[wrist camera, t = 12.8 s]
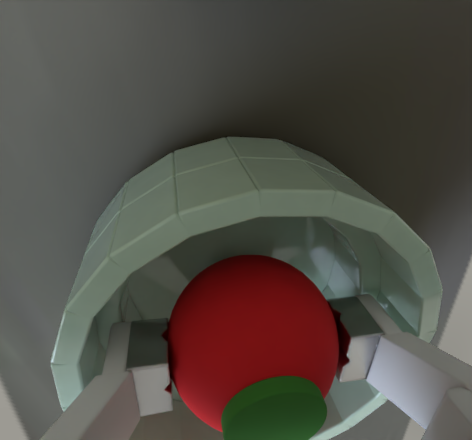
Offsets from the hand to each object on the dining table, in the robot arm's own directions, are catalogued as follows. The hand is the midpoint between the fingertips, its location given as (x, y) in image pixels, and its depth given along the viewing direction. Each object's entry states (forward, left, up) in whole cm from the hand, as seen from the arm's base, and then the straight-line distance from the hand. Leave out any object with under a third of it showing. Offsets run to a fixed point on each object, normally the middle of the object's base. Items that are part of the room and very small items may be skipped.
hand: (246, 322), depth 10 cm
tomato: (0, 0, -2) cm, 2 cm away
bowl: (0, 0, -3) cm, 3 cm away
